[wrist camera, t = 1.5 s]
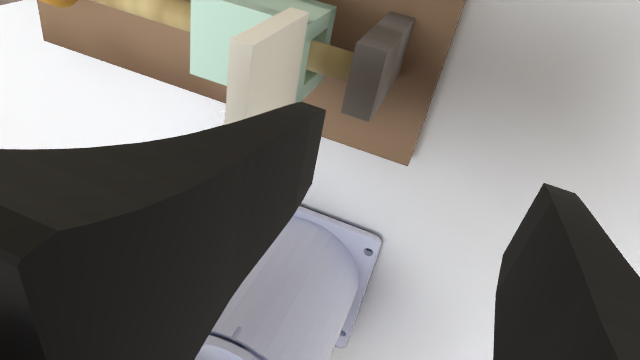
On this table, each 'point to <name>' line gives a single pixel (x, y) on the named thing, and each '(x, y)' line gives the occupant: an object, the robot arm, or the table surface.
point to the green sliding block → (258, 50)
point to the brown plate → (329, 60)
